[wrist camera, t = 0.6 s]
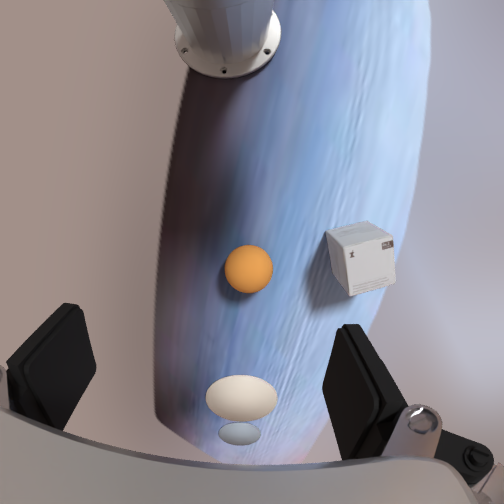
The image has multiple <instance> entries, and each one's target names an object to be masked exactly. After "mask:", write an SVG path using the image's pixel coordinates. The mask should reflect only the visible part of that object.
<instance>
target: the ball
mask: <svg viewBox="0 0 504 504" xmlns="http://www.w3.org/2000/svg"><path fill="white" fill-rule="evenodd" d="M272 273H273V265H272V261H271V259H270V257H269V255H268V254H267V253H266V252H265V251H264V250H263V249H261V248H259V247H257V246H253V245H244V246H241V247H238V248H236V249H235V250H234V251H232V252H231V253H230V255H229V256H228V258H227V260H226V263H225V275H226V278H227V280H228V282H229V283H230V285H231V286H232V287H233V288H235V289H236V290H238V291H240V292H243V293H254V292H258V291H260V290H262V289H263V288H264V287H265V286H266V285H267V284H268V283H269V281H270V280H271V277H272Z"/></svg>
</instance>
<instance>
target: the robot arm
mask: <svg viewBox="0 0 504 504" xmlns="http://www.w3.org/2000/svg"><path fill="white" fill-rule="evenodd" d="M164 2H165V3H166V5H167V7H168V9H169V10H170V12H171V14H172V16H173V17H174V19H175V21H176V23H177V26H176V30H175V45H176V49H177V51H178V53H179V55H180V57H181V58H182V59H183V61H184V62H185V63H186V64H187V65H188V66H189V67H190V68H192V69H193V70H195V71H197V72H198V73H201V74H203V75H206V76H210V77H214V78H226V79H227V78H237V77H241V76H244V75H248V74H250V73H252V72H255V71H257V70H258V69H260V68H261V67H263V66H264V65H265V64H266V63H267V62H268V61H270V60H271V58H272V57H273V56H274V54H275V53H276V51H277V48H278V46H279V43H280V39H281V26H280V21H279V19H278V17H277V15H276V13H275V12H274V11H273V5H274V0H164ZM186 51H187V52H188V53H186V54H184V53H185V52H186ZM266 52H268V53H269V54H268V55H266V54H265V53H266ZM223 71H227V72H226V73H225V74H223V73H222V72H223ZM6 363H7V365H8V370H7V371H6V370H5V369H4V367H2V366H1V365H0V504H504V466H503V465H502V464H500V463H498V464H497V465H494V458H493V454H492V453H491V451H490V450H489V449H488V448H487V447H486V446H484V445H482V444H480V443H477V442H475V441H472V440H469V439H466V438H464V437H461V436H458V435H456V434H452V433H450V432H448V431H445V430H443V429H442V419H441V417H440V415H439V414H438V413H437V412H436V411H435V410H434V409H432V408H430V407H428V406H425V405H421V404H414V405H411V406H408V405H407V403H406V401H405V399H404V397H403V396H402V394H401V392H400V390H399V389H398V387H397V385H396V383H395V382H394V380H393V378H392V376H391V375H390V373H389V371H388V370H387V368H386V366H385V364H384V363H383V361H382V360H381V359H380V358H379V356H378V354H377V352H376V351H375V349H374V347H373V346H372V344H371V342H370V341H369V340H368V337H367V336H366V334H365V333H364V331H363V329H362V328H361V326H360V325H359V324H344V325H343V326H342V328H338V329H337V332H336V336H335V340H334V344H333V348H332V352H331V356H330V359H329V363H328V367H327V370H326V374H325V377H324V381H323V386H322V390H323V395H324V398H325V402H326V405H327V409H328V412H329V415H330V419H331V422H332V426H333V429H334V433H335V437H336V440H337V444H338V447H339V451H340V455H341V458H342V461H334V462H323V463H308V464H288V465H242V464H223V463H210V462H199V461H190V460H182V459H175V458H168V457H162V456H157V455H151V454H145V453H141V452H136V451H131V450H127V449H122V448H118V447H114V446H110V445H107V444H103V443H99V442H96V441H92V440H89V439H85V438H82V437H79V436H76V435H73V434H70V433H67V432H64V431H63V429H64V427H65V425H66V424H67V422H68V420H69V418H70V416H71V415H72V413H73V411H74V409H75V407H76V406H77V404H78V402H79V400H80V398H81V397H82V395H83V393H84V391H85V390H86V388H87V386H88V385H89V383H90V381H91V379H92V378H93V376H94V374H95V372H96V362H95V359H94V356H93V351H92V347H91V344H90V340H89V335H88V331H87V327H86V323H85V317H84V313H83V311H82V309H80V307H79V306H78V305H76V304H70V303H63V304H62V305H61V306H60V307H59V308H58V309H57V310H56V311H55V312H54V313H53V314H52V315H51V316H50V317H49V318H48V319H47V320H46V321H45V322H44V323H43V324H42V325H41V326H40V327H39V328H38V329H37V330H36V331H35V332H34V333H33V334H32V335H31V336H30V337H29V338H28V339H27V340H26V341H25V342H24V343H23V344H22V345H21V347H19V348H18V349H17V350H16V352H15V353H14V354H13V355H12V356H11V357H10V358H9V359H8V360H7V361H6Z"/></svg>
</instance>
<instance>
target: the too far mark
mask: <svg viewBox="0 0 504 504" xmlns="http://www.w3.org/2000/svg"><path fill="white" fill-rule="evenodd" d="M260 436H261V432H260V430H259V429H258V428H257V427H256V426H254V425H252V424H249V423H243V422H235V423H230V424H227V425H224V426H223V427H222V428H221V429H220V430H219V437H220V438H221V439H222V440H223V441H224V442H226V443H229V444H232V445H249V444H252V443H254V442H256V441H257V440H259V438H260Z"/></svg>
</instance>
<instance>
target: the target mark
mask: <svg viewBox="0 0 504 504" xmlns="http://www.w3.org/2000/svg"><path fill="white" fill-rule="evenodd" d="M206 403H207V405H208V407H209V408H210V409H211V410H212V411H213V412H214V413H215V414H216V415H218V416H220V417H222V418H225V419H228V420H232V421H240V422H245V421H253V420H257V419H260V418H262V417H264V416H266V415H268V414H269V413H270V412H271V411H272V410H273V409H274V408H275V406H276V404H277V393H276V391H275V389H274V388H273V387H272V385H270V384H269V383H268V382H266V381H265V380H263V379H260V378H258V377H254V376H249V375H232V376H227V377H224V378H221V379H219V380H217V381H215V382H214V383H213V384H212V385H211V386H210V387H209V388H208V390H207V392H206Z"/></svg>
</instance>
